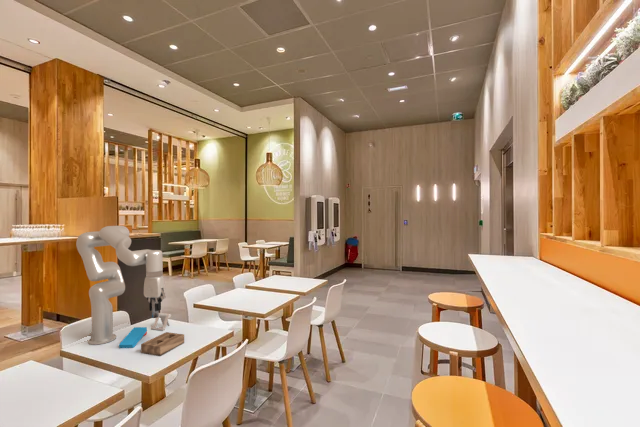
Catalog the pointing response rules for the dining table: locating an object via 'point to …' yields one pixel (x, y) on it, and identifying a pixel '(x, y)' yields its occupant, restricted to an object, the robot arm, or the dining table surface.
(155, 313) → the pin
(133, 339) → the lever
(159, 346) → the hole block
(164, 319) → the portable electronic device stand
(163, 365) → the dining table surface
